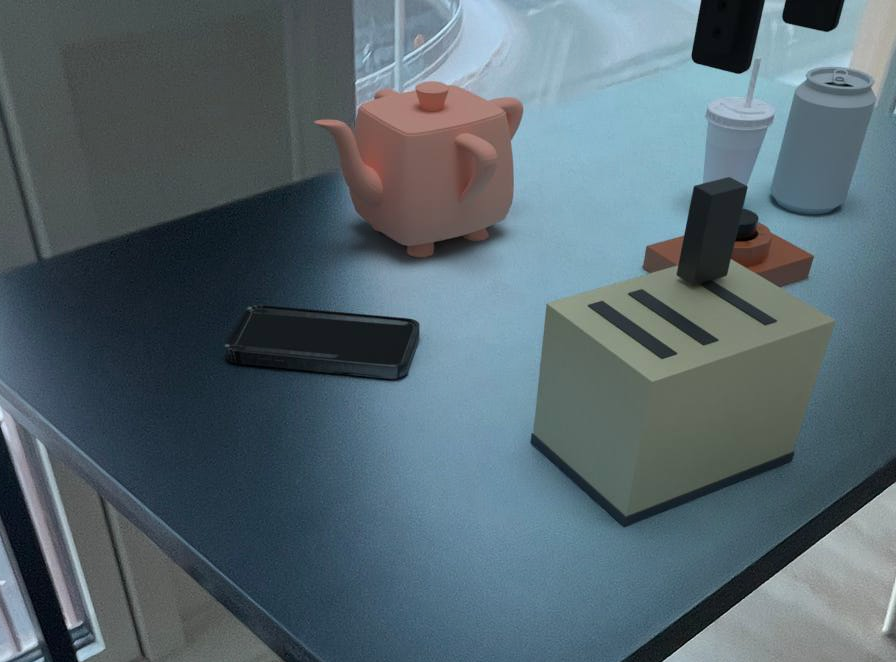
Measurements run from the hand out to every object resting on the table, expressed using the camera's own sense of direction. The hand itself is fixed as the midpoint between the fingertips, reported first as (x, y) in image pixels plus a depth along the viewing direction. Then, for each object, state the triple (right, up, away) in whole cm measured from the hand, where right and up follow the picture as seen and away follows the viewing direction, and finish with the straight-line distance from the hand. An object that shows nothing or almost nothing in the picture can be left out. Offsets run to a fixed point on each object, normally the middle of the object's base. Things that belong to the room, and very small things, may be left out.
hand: (765, 45), depth 55 cm
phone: (-27, -8, +28) cm, 40 cm away
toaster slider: (0, -8, +13) cm, 15 cm away
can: (+21, +13, +49) cm, 55 cm away
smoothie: (+12, +11, +48) cm, 51 cm away
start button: (+9, +4, +35) cm, 37 cm away
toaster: (-1, -19, +19) cm, 26 cm away
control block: (+9, +1, +38) cm, 39 cm away
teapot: (-18, +7, +44) cm, 48 cm away
